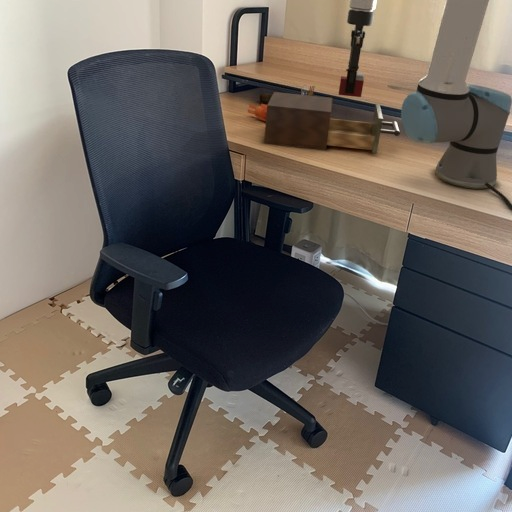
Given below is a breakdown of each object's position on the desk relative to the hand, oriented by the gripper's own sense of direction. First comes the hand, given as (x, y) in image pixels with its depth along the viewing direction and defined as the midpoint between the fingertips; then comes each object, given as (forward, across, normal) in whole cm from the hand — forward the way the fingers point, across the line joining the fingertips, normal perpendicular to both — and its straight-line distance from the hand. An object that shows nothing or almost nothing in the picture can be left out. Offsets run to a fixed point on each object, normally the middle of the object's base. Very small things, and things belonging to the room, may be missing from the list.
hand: (349, 91), depth 164 cm
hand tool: (+12, -18, -22) cm, 31 cm away
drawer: (+11, +15, +3) cm, 19 cm away
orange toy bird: (+12, -1, -26) cm, 29 cm away
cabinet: (+12, +15, -14) cm, 24 cm away
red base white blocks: (+1, 0, 0) cm, 1 cm away
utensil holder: (+12, -6, -13) cm, 19 cm away
